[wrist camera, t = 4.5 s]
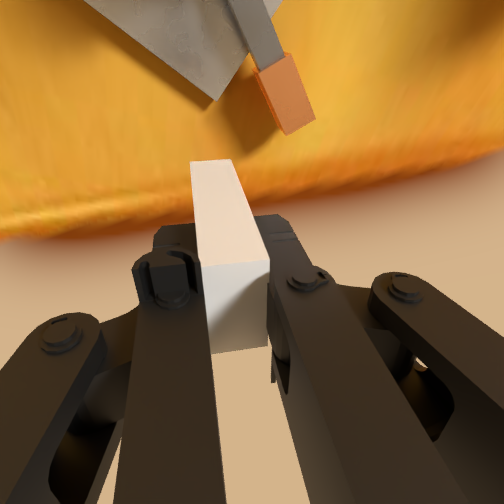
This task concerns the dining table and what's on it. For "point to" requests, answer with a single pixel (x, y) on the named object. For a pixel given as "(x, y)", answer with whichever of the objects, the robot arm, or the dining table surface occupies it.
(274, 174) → the dining table surface
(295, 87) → the wrench
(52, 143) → the dining table surface
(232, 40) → the flange plate
